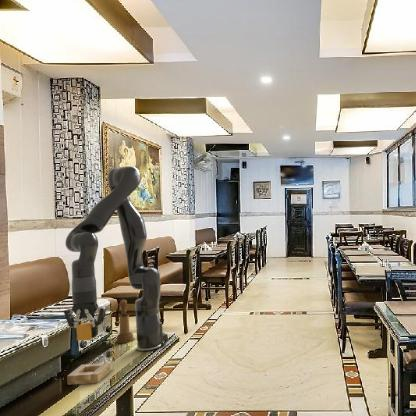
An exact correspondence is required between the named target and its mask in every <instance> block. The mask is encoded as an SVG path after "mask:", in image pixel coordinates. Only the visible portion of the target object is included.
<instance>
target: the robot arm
mask: <svg viewBox="0 0 416 416" xmlns="http://www.w3.org/2000/svg"><path fill="white" fill-rule="evenodd" d="M141 182H142V175H141V172H140V170H139V169H138V168H136V167H135V166H131V165H129V166H117V167H112V168H111V169H110V170H108V173H107V183H108V186H109V189H110V192H109V193H108V194H107V195H106V196H103V198H102V199H101V200H98V202H97V203H96V204H94V205H93V207H92V208H91V210H90V211H89V212H88V214H87V215H86V216H85V218H84V219H83V220H82V221H80V222H79V223H78V224H77V225H76V226H75V227H74V228H73V229H72V230H71V231H70V232H69V233H68V235H67V236H66V238H65V247H66V249H67V250H68V251H69V252H71V253H72V252H73V253H79V256H78V258H77V259H74V260H73V261H72V262H71V298H72V300H71V301H72V306H71V308H66V309H65V310H64V311H63V314H64V317H65V319H66V323H67V325H68V327H69V328H71V327H72V328H74V336H75V338H77V328H76V326H78V325H80V324H81V323H83V319H87V320H88V322H90V323H91V326H92V328H91V329H92V339H95V338H96V337H97V336H98V335H99V326H100V325H102V324H104V321H105V317H106V312H107V307H106V306H99V305H98V293H97V292H98V291H97V279H96V272H95V271H96V269H95V262H96V258H97V253H98V250H99V238H98V236H97V235H96V234H98V233H100V232H102V231H103V230H104V229H105V227H106V226H107V225H108V222H109V221H110V219H111V218H112V216H113V215H114V214H115V213H117V218H118V222H119V227H120V232H121V237H122V241H123V245H124V251H125V255H126V263H127V274H128V281H129V284H130V286H131V287H132V288H133V289H134V290H138V291H142V297H140V298H137V299H136V300H135V302H134V306H135V326H136V328H135V329H136V341H137V342H136V346H137V348H136V350H138V351H139V352H149V351H154V350H157V349H159V348H161V347H163V346H164V344H166V343H167V342H168V340H169V337H168V336H169V335H168V333H164V332H163V323H162V322H161V313H160V300H161V295H162V294H161V293H162V292H161V283H162V282H161V275H160V271H159V270H158V269H157V268H155V267H145V266H144V262H143V261H144V260H143V251H144V247H145V245H146V242H147V238H148V234H147V228H146V223H145V220H144V217H143V216H142V214H141V212H139V210H138V209H137V208H136V206H135V205H134V204H133V202H132V200H131V198H130V196H131V195H132V194H133V192H134V191H135V190H137V188H138V187H139V186H140V184H141ZM96 312H97V313H98V317H97V314H96ZM73 314H74V315H75V317H74V315H73Z"/></svg>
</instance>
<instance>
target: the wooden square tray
mask: <svg viewBox="0 0 416 416" xmlns="http://www.w3.org/2000/svg"><path fill="white" fill-rule="evenodd" d="M110 372H111V362H102V363H101V362H100V363H87V364H86V363H85V364H80V365H79V366H78V367H77V368H76V369H74V370H73V371H71V372H70V373H69V374H67V376H66V378H67V379H66V380H67V381H66V382H67V385H68V386H69V385H87V384H99V383H100V382H101V381H102V380H103V379H104V378H105V377H106V376H107V375H108V374H110Z"/></svg>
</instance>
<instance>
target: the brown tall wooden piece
mask: <svg viewBox="0 0 416 416" xmlns="http://www.w3.org/2000/svg"><path fill="white" fill-rule="evenodd" d="M127 305H128V301H127V300H126V299H121V300H120V301H119V306H120V307H121V310H120V313H121V314H120V315H119V316H118V320H119V334H118V335H117V336H116V342H117V344H118V343H119V344H126V343H130V342H132V341H133V340H134V334H133V333H132V332H130V315H129V314H128V313H127V309H126V307H127Z"/></svg>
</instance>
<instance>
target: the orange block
mask: <svg viewBox="0 0 416 416" xmlns="http://www.w3.org/2000/svg"><path fill="white" fill-rule="evenodd" d="M76 328H77V337H76V341H78V342H81V341H91V340H93V338H92V329H91V328H92V326H91V323H90V322H89V321H88V322H81V324H80V325H78V326H76Z"/></svg>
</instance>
